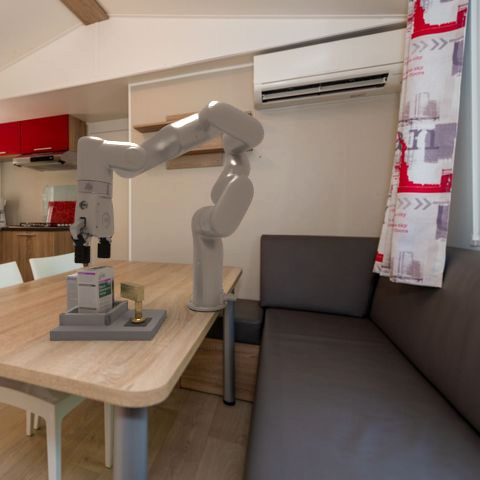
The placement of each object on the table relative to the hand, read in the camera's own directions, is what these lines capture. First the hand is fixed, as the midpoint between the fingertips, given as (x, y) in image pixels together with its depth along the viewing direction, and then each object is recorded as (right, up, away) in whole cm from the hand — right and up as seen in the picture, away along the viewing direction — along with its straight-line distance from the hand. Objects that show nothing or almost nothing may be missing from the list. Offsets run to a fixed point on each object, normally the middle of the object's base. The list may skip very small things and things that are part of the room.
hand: (93, 260), depth 60 cm
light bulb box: (-10, -16, +14) cm, 23 cm away
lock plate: (+6, -16, 0) cm, 17 cm away
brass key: (+10, -14, -1) cm, 17 cm away
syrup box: (0, -16, +1) cm, 17 cm away
